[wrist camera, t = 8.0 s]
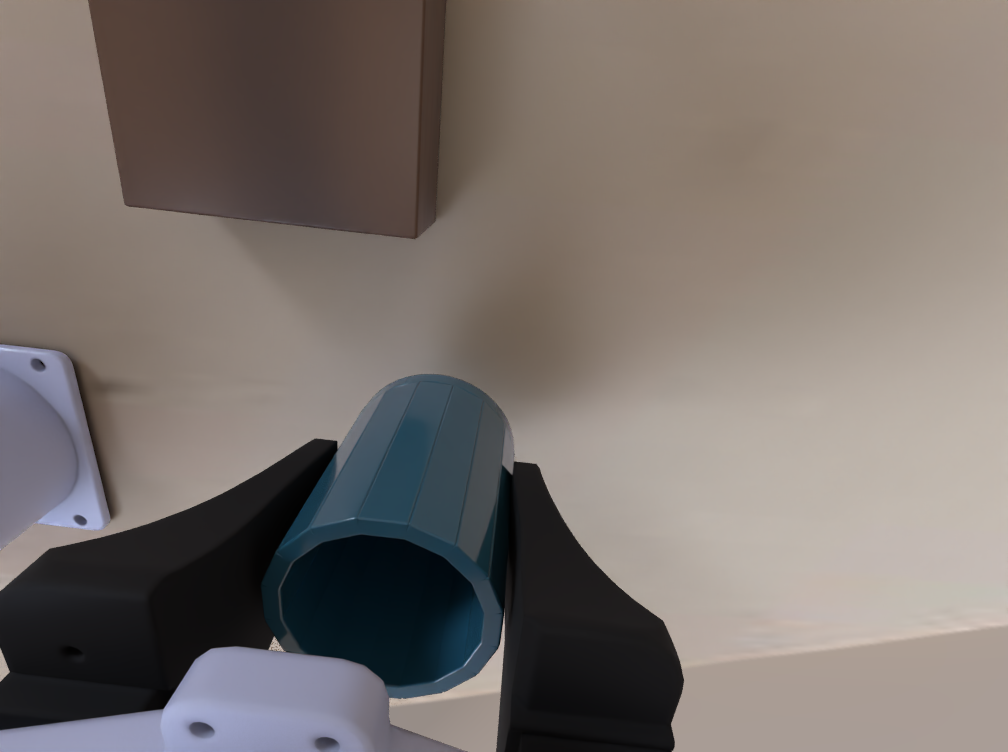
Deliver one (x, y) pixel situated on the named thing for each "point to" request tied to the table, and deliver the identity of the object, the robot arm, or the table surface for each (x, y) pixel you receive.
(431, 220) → the walnut block
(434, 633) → the small cup
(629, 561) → the table surface
